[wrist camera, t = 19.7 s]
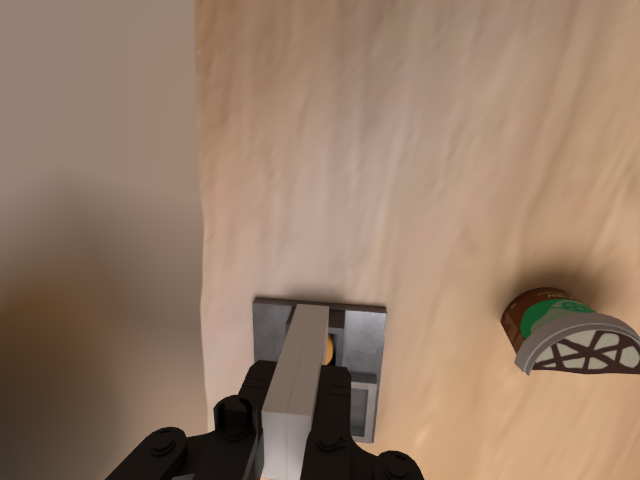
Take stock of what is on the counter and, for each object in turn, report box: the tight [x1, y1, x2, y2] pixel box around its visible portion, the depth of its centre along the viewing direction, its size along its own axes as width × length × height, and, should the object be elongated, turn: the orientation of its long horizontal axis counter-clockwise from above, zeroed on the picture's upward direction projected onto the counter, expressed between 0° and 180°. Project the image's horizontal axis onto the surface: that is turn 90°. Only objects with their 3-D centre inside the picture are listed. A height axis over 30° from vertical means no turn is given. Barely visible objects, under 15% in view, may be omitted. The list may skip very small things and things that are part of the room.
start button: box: [326, 333, 334, 365], centre depth 43 cm, size 4×4×3 cm
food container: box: [501, 287, 640, 376], centre depth 38 cm, size 12×6×10 cm, turn 91°
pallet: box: [253, 298, 387, 443], centre depth 47 cm, size 21×17×6 cm
